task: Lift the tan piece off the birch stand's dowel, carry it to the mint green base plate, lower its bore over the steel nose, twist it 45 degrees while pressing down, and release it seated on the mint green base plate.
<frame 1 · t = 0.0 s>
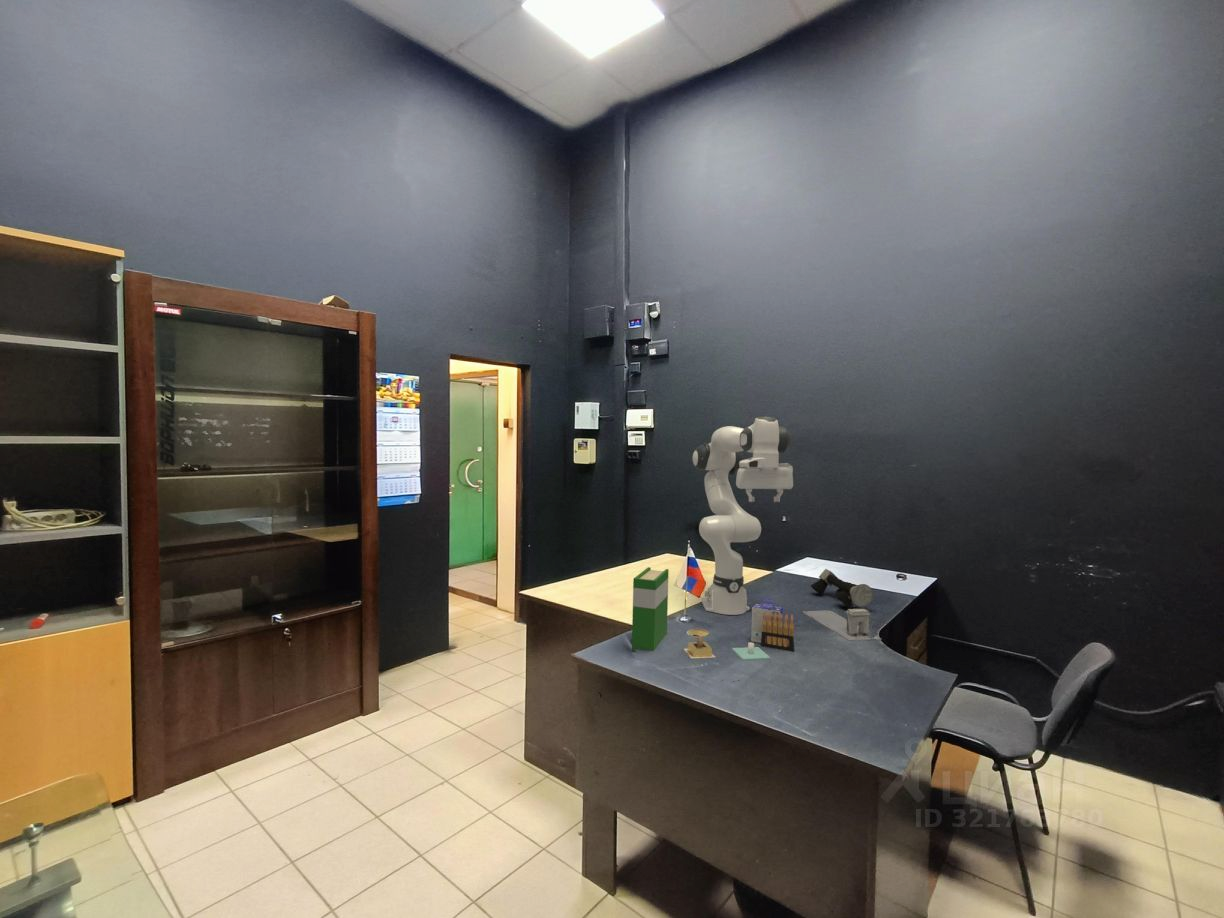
hand: (764, 501, 196), 48 cm above the table, fingers open, 8 cm apart
stand: (699, 657, 177), on the table
ink cartridge box: (766, 642, 192), on the table
hardback book: (649, 645, 187), on the table
triumphal arch model: (839, 626, 212), on the table
mint green base plate: (750, 658, 176), on the table
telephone: (841, 603, 243), on the table
tan piece: (699, 652, 176), point 1 cm above the table, touching stand
ammunition clip: (777, 648, 186), on the table
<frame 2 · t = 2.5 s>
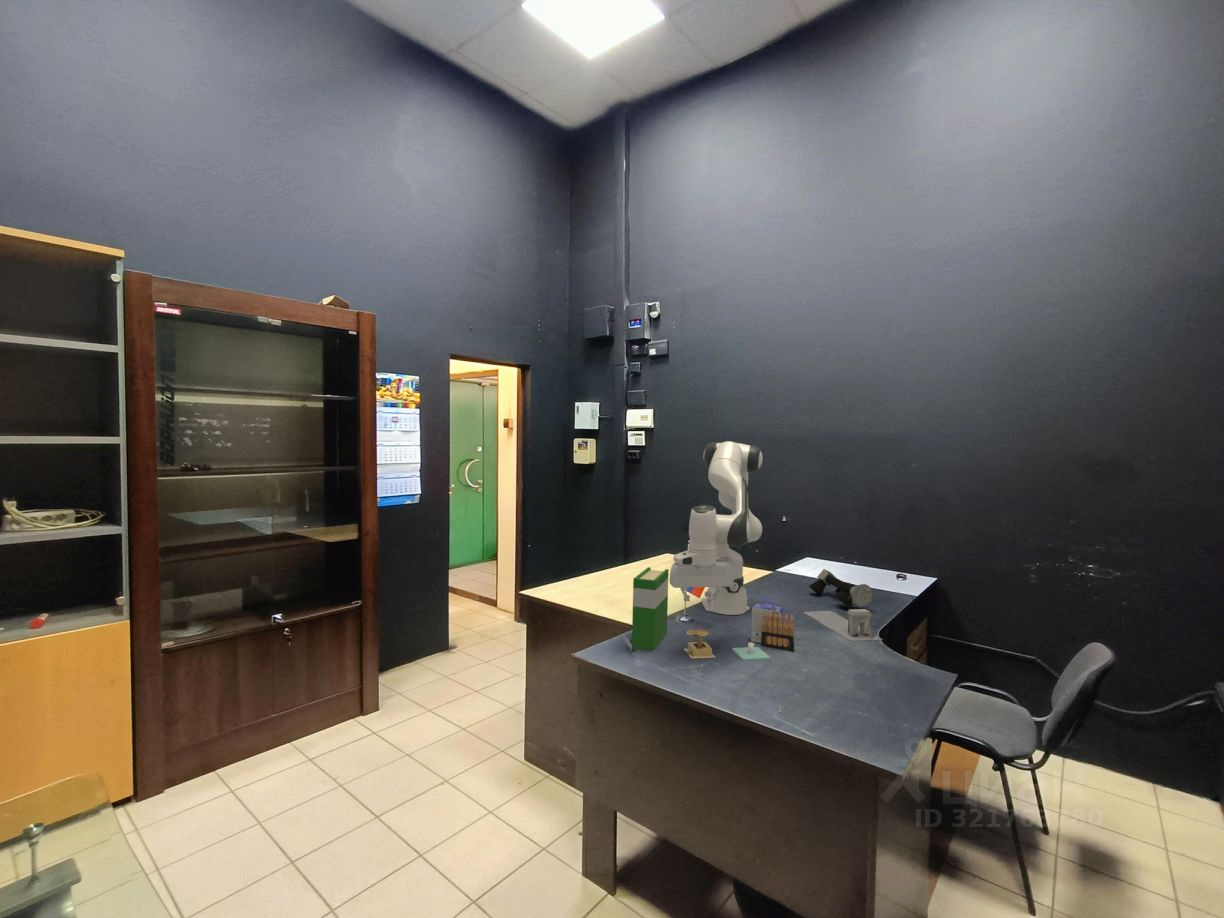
hand: (701, 600, 176), 18 cm above the table, fingers open, 8 cm apart
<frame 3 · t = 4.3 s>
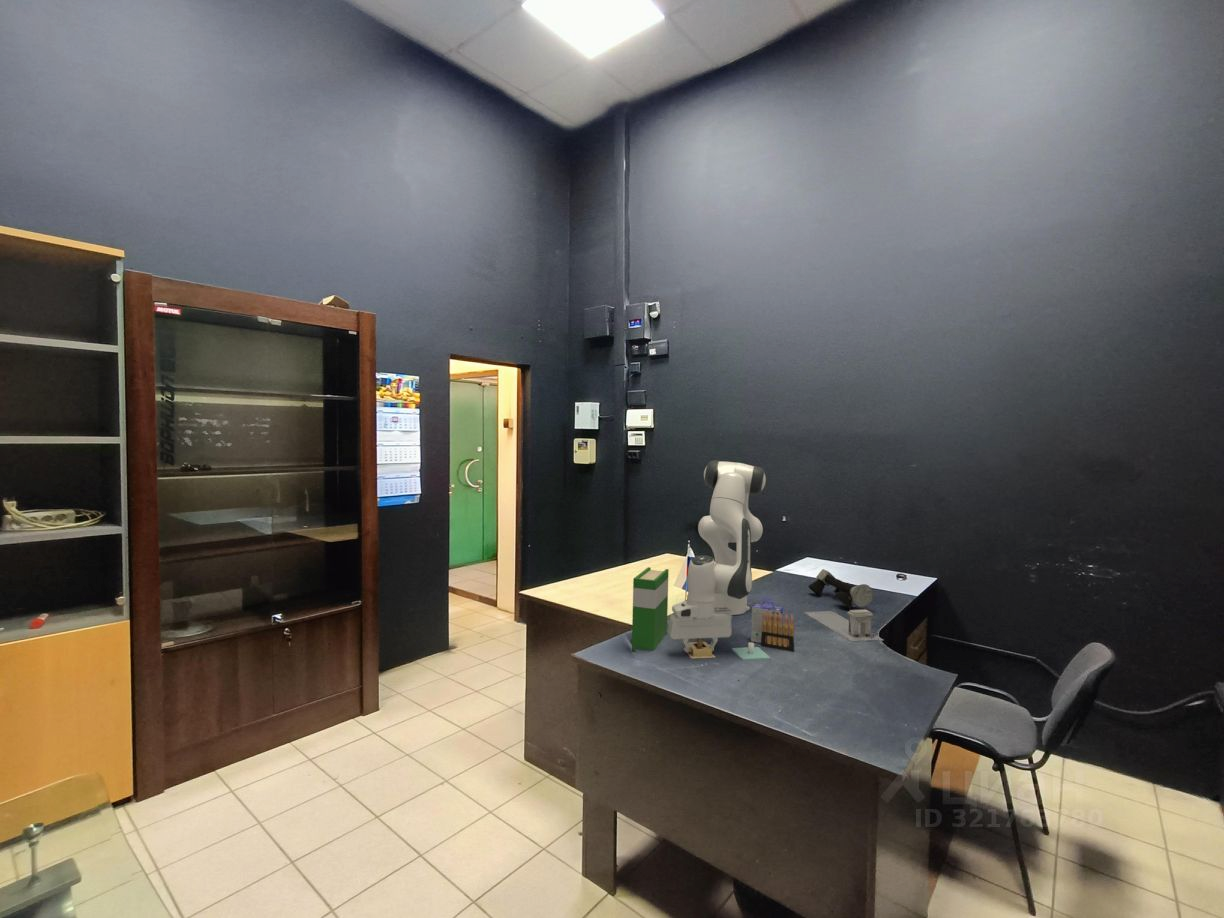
hand: (699, 651, 176), 2 cm above the table, fingers closed on tan piece, 6 cm apart
tan piece: (699, 652, 176), point 1 cm above the table, touching gripper, stand
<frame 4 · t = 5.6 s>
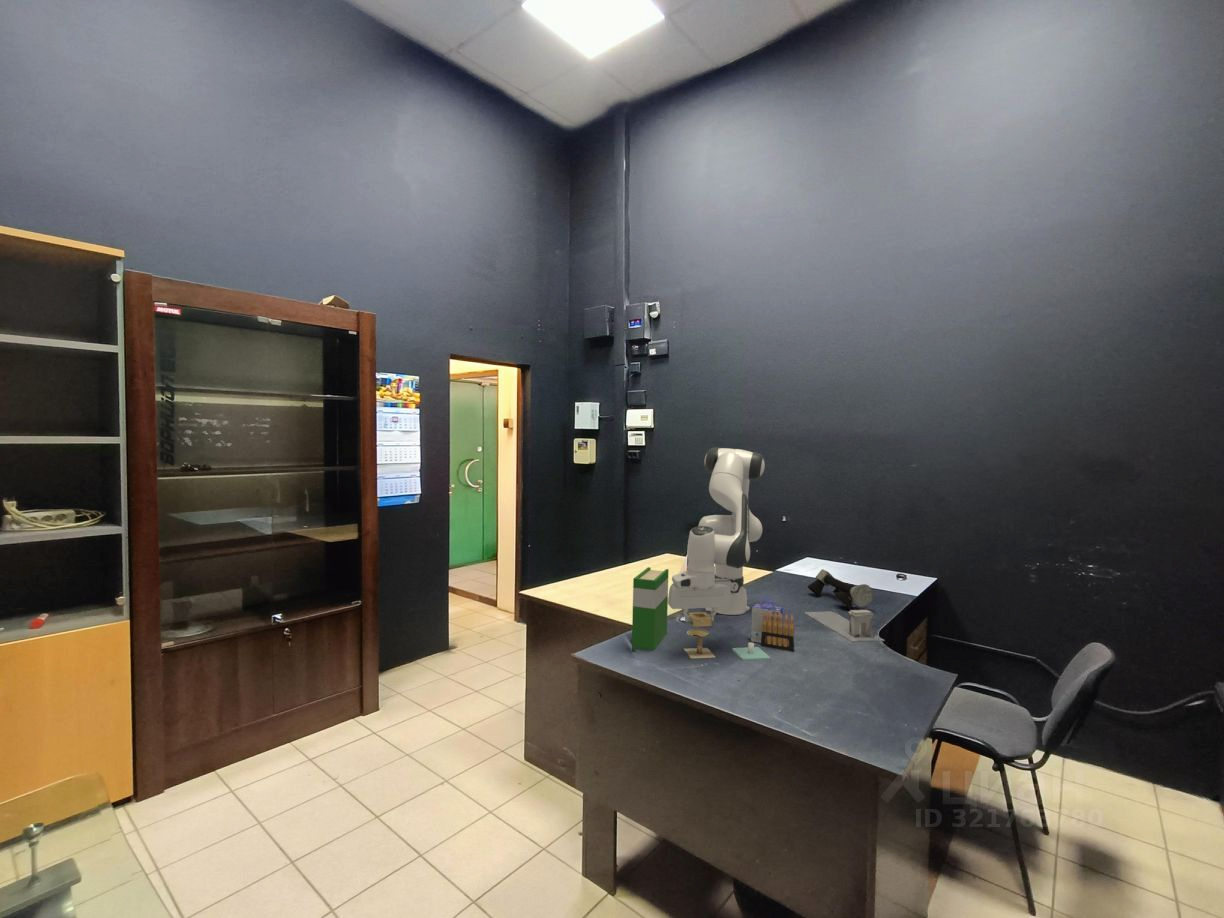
hand: (699, 621, 177), 11 cm above the table, fingers closed on tan piece, 6 cm apart
tan piece: (699, 622, 177), point 11 cm above the table, touching gripper
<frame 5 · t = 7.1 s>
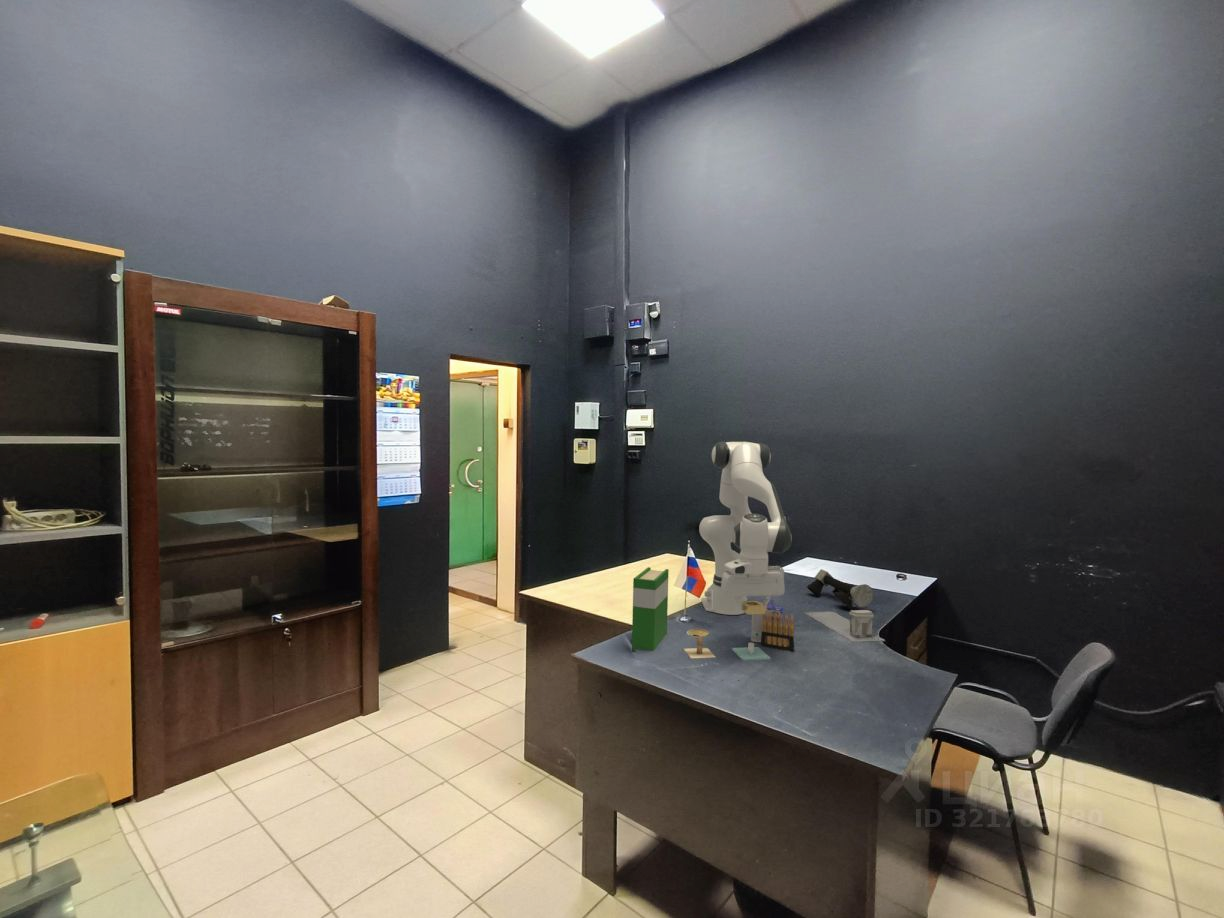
hand: (752, 609, 176), 16 cm above the table, fingers closed on tan piece, 6 cm apart
tan piece: (752, 611, 176), point 15 cm above the table, touching gripper
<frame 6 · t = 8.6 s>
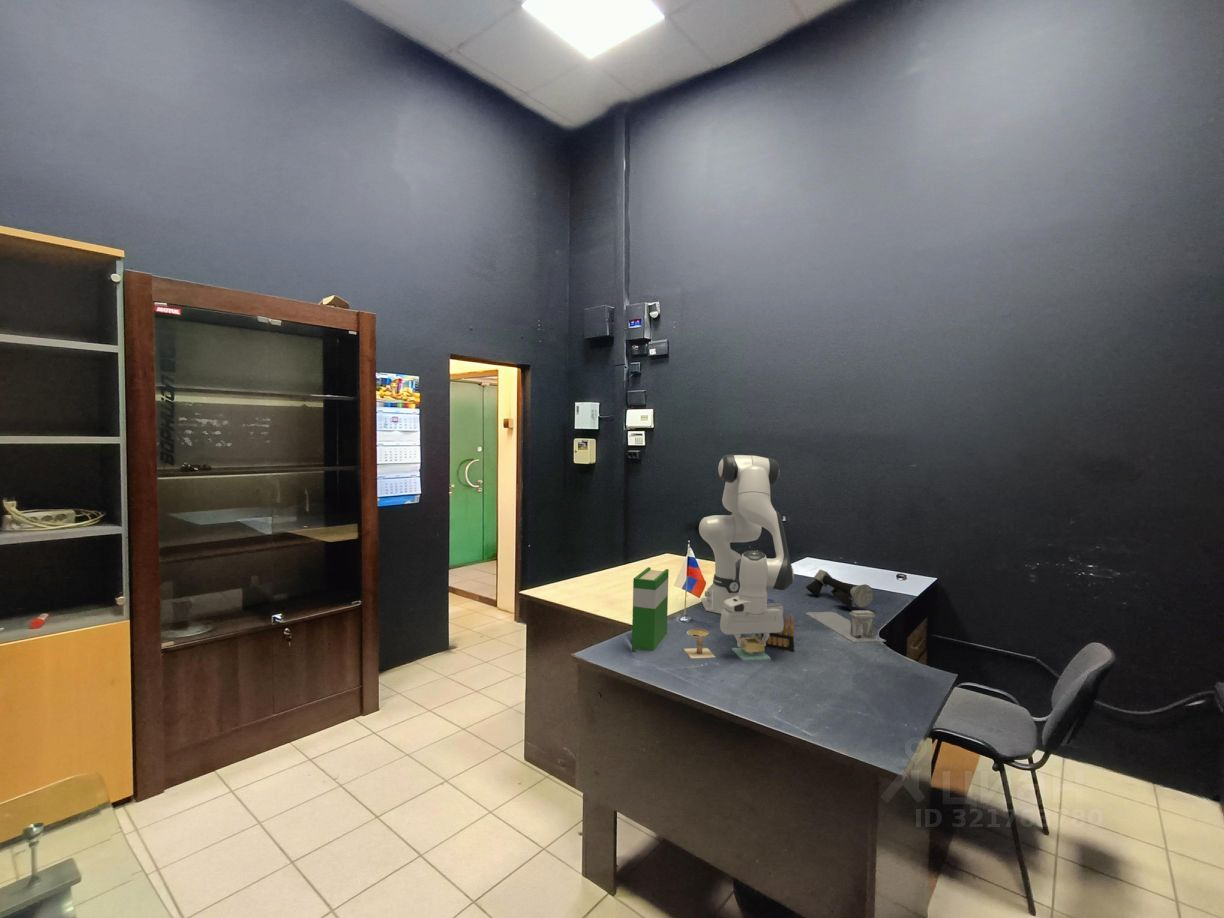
hand: (751, 646, 176), 4 cm above the table, fingers closed on tan piece, 6 cm apart
tan piece: (751, 648, 176), point 4 cm above the table, touching gripper
when the fingers open (3 cm above the table, at t = 9.9 s): tan piece stays where it is, resting on mint green base plate.
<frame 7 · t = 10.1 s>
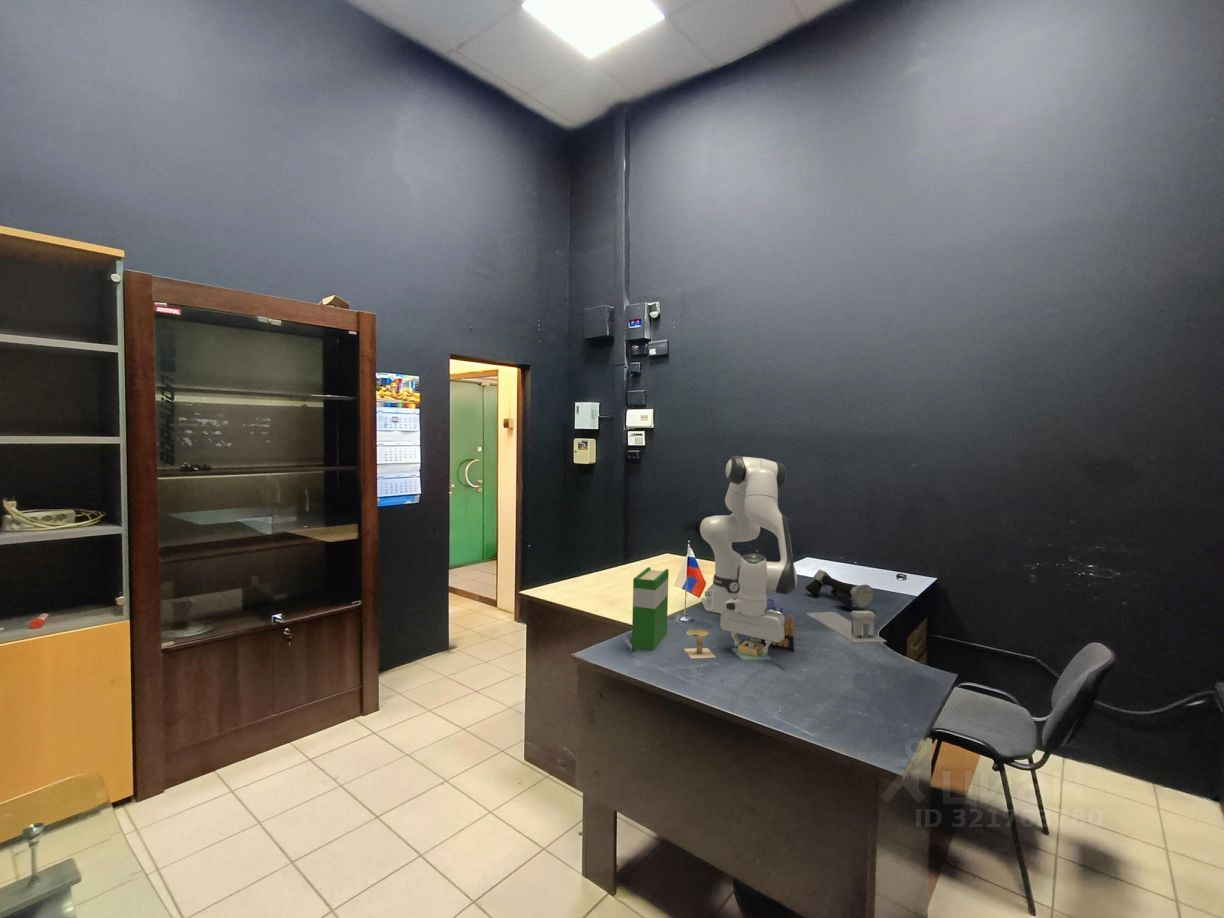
hand: (750, 649, 176), 3 cm above the table, fingers open, 8 cm apart
tan piece: (750, 652, 176), point 2 cm above the table, touching mint green base plate
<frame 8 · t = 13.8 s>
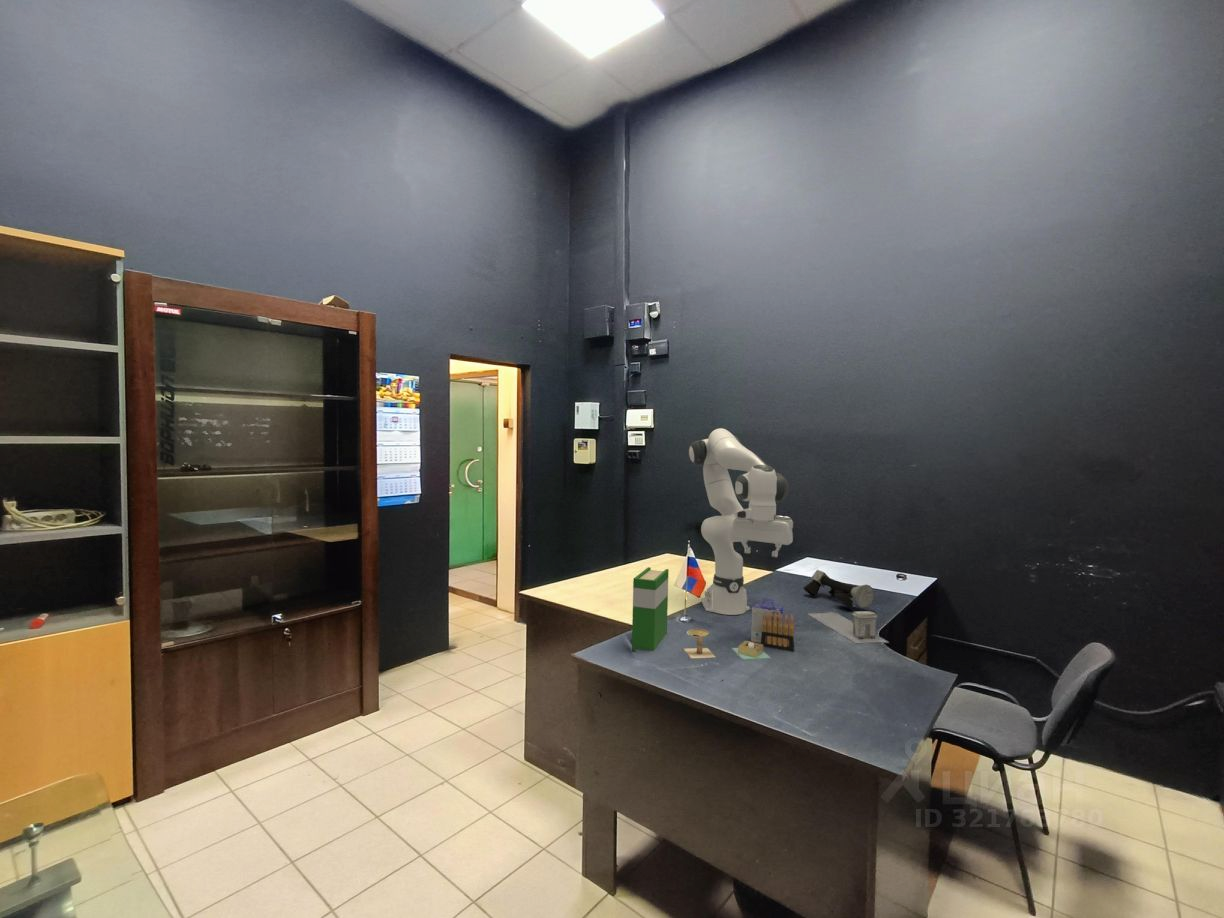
hand: (760, 554, 186), 31 cm above the table, fingers open, 8 cm apart
at the end: tan piece 0.1 cm off-centre on the mint green base plate, point 2.0 cm above the mint green base plate's base; tan piece tilted 0°; the gripper is holding nothing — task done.
